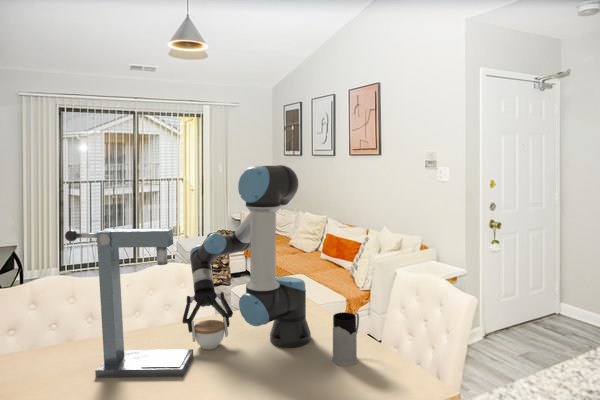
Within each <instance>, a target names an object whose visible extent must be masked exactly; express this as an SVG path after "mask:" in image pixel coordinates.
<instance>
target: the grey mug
mask: <svg viewBox="0 0 600 400" xmlns="http://www.w3.org/2000/svg"><path fill="white" fill-rule="evenodd" d="M332 323H333V324H332V326H333V327H332V357H331V363H333V364H334V365H337V366H340V367H351V366H355V365H356V364H358V362H359V359H358V357H357V354H358V353H357V352H358V351H357V349H358V348H357V338H358V337H357V334H358V333H359V332H358V330H359V324H360V316H359V313H357V312H354V313H351V312H343V311H342V312H337V313H335V314H333V317H332Z"/></svg>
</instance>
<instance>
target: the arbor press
mask: <svg viewBox="0 0 600 400" xmlns="http://www.w3.org/2000/svg"><path fill="white" fill-rule="evenodd" d="M64 238H65V240H66V241H68V242H74V241H76V240H77V239H96V240H95V241H96V243H97V245H96V246H97V262H98V278H99V282H98V283H99V296H100V309H101V310H100V311H101V312H100V313H101V314H100V315H101V317H100V318H101V328H102V329H101V331H102V332H101V333H102V346H103V347H102V350H103V351H102V352H103V362H101V364H100V365H99V366H98V367H97V368H96V369H95V371H94V373H95V378H100V379H101V378H160V377H161V378H162V377H163V378H164V377H165V378H167V377H173V378H175V377H177V378H178V377H179V378H180V377H183V376H184V374H185V373H186V370H187V369H188V367H189V365H190V363H191V361H192V360H193V358H194V349H193V348H192V349H190V348H189V349H125V343H124V326H123V325H124V321H123V307H122V306H123V304H122V287H121V270H120V269H121V267H120V266H121V265H120V252H119V251H120V249H119V248H156V265H157V266H165V265H168V262H169V261H168V248H169V247H171V246H172V245H173V244H174V229H173V228H131V229H130V228H121V229H120V228H104V229H102V230H99V231H97V232H77V231H76V230H73V229H71V230H70V229H69V230H68V231H66V233H65V235H64Z"/></svg>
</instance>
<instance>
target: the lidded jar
mask: <svg viewBox="0 0 600 400" xmlns="http://www.w3.org/2000/svg"><path fill="white" fill-rule="evenodd" d="M194 329H195V338H196V339H195V342H196V344H197V345H198V346H199V347H201V349H203V350H214V349H217V348H218V347H219V345H220V344H221V343H222V341H223V340H224V337H225V332H224V323H223V320H218V319H207V320H202V321H200V322H197V323H195V324H194Z"/></svg>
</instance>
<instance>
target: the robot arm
mask: <svg viewBox="0 0 600 400" xmlns="http://www.w3.org/2000/svg"><path fill="white" fill-rule="evenodd" d="M237 183H238V185H237V187H238V193H239V195H240V198H241V199H242V201H244V202H245V207H246V208H247V209H248V210H249V213H248V214H247V216H246V217H245V218H244V220H243V221H242V222H241V223H240V224H239V225H238V226H237V228H236V229H235V231H234V232H233V233H231V234H228V235H227V234H226V235H223V234H221V233H217V232H213V233H211V234H209V236H207V238H205V240H204V241H203V242H202V244H201V245H196V246H195V247H192V248H191V250H190V252H189V254H190V256H189V260H190V267H191V273H192V274H191V275H192V282H193V291H194V295H193V296H190V295H187V296H186V304H185V305H186V306H185V309H184V313H183V316H182V321H181V322H182V324H186V325H187V330H188V333H191V334H192V342H193V343H194V342H196V338H195V329H194V326H195V322H194V319H195V317H196V315H197V314H198V312H199V310H200V309H201V308H203V307H204V308H205V307H211V306H212V308H214V309H215V310H216V311H217V312H218V314H220V315H221V317H222V318H223V319H222V322H223V323H224V337H225V338H227V337H228V335H229V330H228V328H229V327H230V320H229V319H230V318H232V317H233V314H234V312H233V310H232V308H231V307H230V304H229V303H228V301H227V299H226V298H225V294H224V291H222V292H220V293H216V290H215V284H214V283H215V282H214V277H213V272H212V271H213V270H212V263H213V262H214V261H216V259H217V258H219V257H222V256H227V255H231V254H235V253H240V252H241V253H242V252H245V251H248V250H250V251H249V252H250V254H249V255H250V258H249V259H250V262H249V263H250V275H249V276H250V279H249V280H248V281H247V283H246V285H245V293H243V294H242V295H241V296H240V297H239V300H238V308H239V312H240V314H241V317H242V318H243V319H244V321H245V322H246V323H247V324H249V325H250V326H253V327H260V326H263V325H264V326H265V325H268V323H271V322H273V324H272V326H271V330H270V333H269V340H270V343H272V344H273V345H274V346H277V347H281V348H297V347H302V346H304V345H307V344H308V343H309V342H310V341H311V340H312V339H311V338H312V336H311V334H312V333H311V330H310V329H311V328H310V327H309V325H308V321H307V318H306V317H307V314H306V313H307V311H306V310H307V309H306V307H307V305H306V304H307V303H306V298H307V297H306V296H307V294H306V292H307V290H306V283H305V281H304V280H303V279H301V278H297V277H293V276H278V277H276V266H277V263H276V260H277V259H276V258H277V257H276V255H277V254H276V253H277V251H276V246H277V245H276V243H277V242H276V241H277V239H276V237H277V234H276V233H277V231H276V230H277V229H276V228H277V222H276V221H277V217H276V216H277V212H278V211H279V210H280V209H281V208H282V207H284V206H288V204H289V203H290V202H291V200H292V199H294V197H295V196H296V193H297V192H298V189H299V178H298V176H297V174H296V172H295V171H294V170H293V168H291V167H290V166H287V165H281V164H280V165H255V166H254V165H253V166H250V167H247V168H246V169H245V170H243V172H242V173H241V175H240V177H239V180H238V182H237ZM217 298H218V300H220V303H221V304H222V306H223V307H222V306H221V305H220V304H219V303H218V301H217ZM193 301H194V302H195V303H196V305H195V306H194V308H193V310H192V312H191V313H190V315H189V312H190V308H191V303H193ZM188 316H189V317H188Z"/></svg>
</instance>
